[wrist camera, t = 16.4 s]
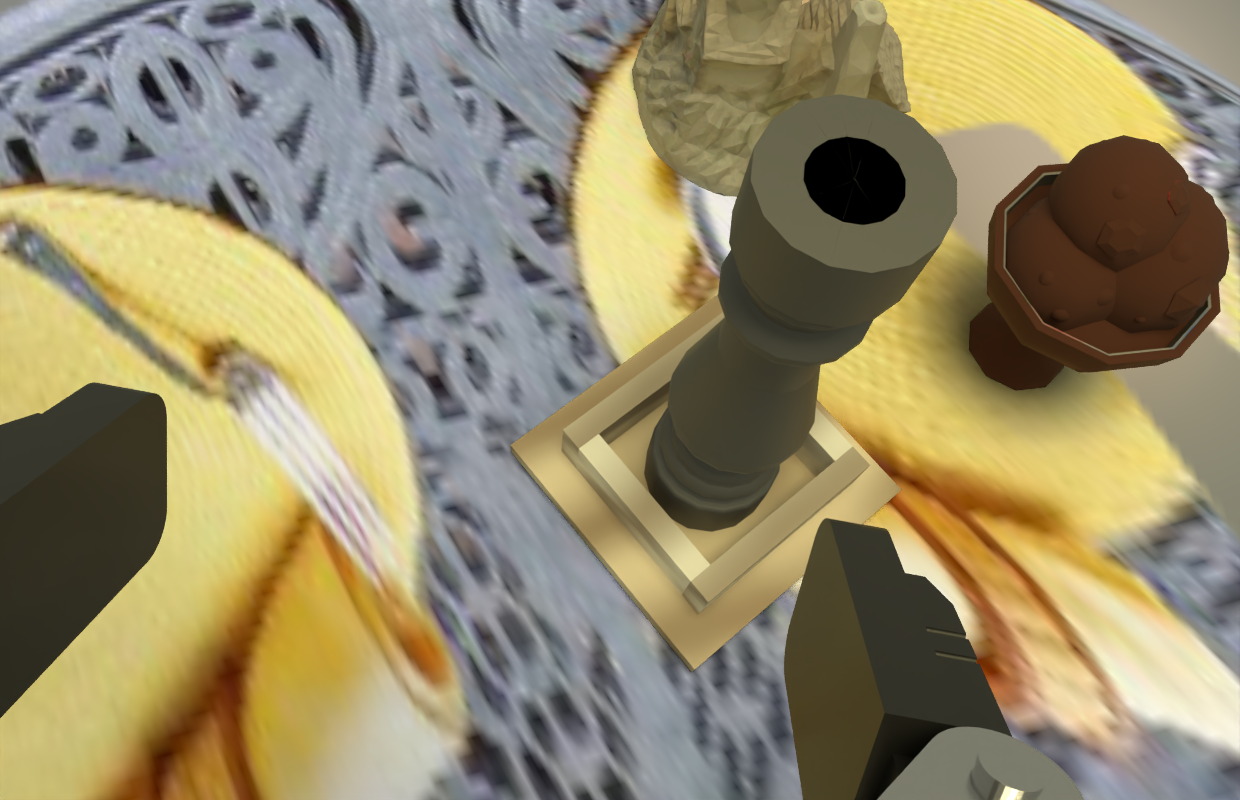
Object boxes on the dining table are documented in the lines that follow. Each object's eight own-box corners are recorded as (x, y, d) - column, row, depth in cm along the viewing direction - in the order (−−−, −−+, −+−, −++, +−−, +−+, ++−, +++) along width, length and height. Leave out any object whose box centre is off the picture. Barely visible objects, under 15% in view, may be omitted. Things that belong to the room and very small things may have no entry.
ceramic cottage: (884, 231, 57) (983, 27, 44) (605, 174, 58) (619, -43, 44) (905, 38, 64) (996, -189, 51) (656, -10, 65) (681, -246, 51)
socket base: (511, 451, 50) (509, 423, 47) (715, 303, 54) (728, 266, 51) (691, 672, 47) (704, 660, 43) (894, 495, 51) (922, 471, 47)
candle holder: (639, 415, 50) (728, 86, 27) (759, 412, 51) (944, 86, 28) (648, 534, 48) (754, 283, 25) (773, 529, 49) (989, 279, 26)
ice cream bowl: (917, 418, 53) (1052, 280, 39) (927, 241, 57) (1052, 60, 43) (1112, 456, 53) (1317, 331, 39) (1108, 276, 57) (1290, 106, 43)
